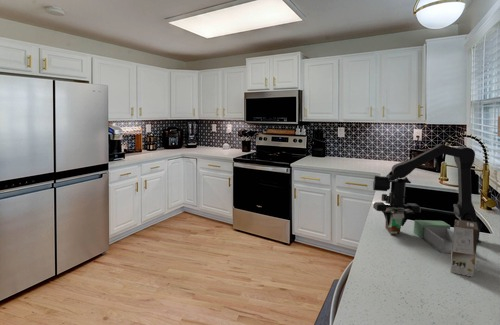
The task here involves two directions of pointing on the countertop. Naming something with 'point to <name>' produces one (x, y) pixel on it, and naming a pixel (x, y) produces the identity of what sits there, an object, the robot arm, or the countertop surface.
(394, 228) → the food container
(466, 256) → the coffee box
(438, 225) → the green block on stand
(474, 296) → the countertop surface
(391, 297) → the countertop surface
